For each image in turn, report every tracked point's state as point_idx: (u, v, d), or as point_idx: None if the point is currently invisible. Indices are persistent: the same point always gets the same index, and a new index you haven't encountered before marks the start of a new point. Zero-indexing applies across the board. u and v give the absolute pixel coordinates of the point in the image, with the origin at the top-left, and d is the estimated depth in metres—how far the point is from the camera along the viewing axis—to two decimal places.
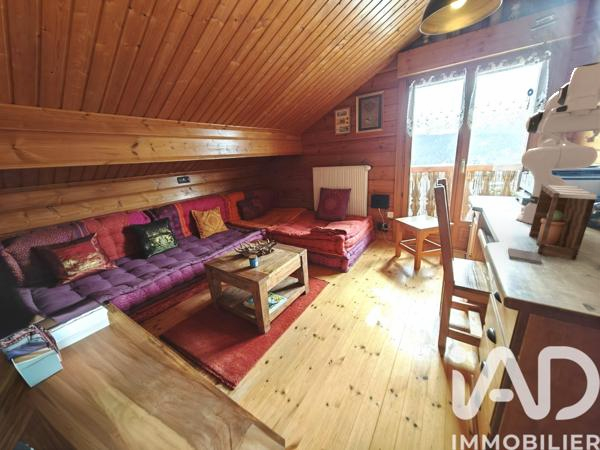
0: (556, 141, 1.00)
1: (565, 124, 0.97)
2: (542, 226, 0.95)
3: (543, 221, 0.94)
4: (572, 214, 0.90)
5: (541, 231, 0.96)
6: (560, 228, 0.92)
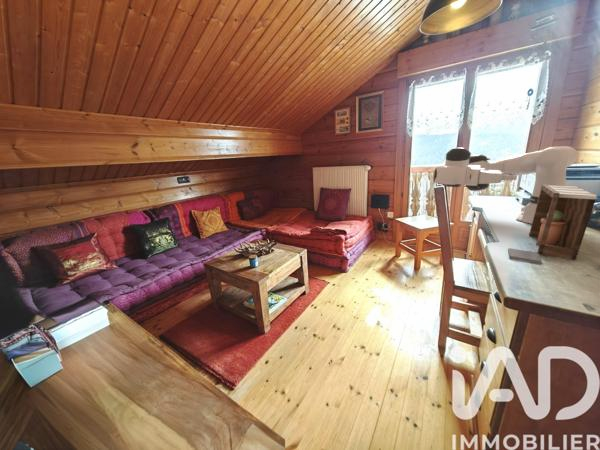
0: (513, 175, 0.94)
1: (493, 172, 0.98)
2: (542, 226, 0.95)
3: (543, 221, 0.94)
4: (572, 214, 0.90)
5: (541, 231, 0.96)
6: (560, 228, 0.92)
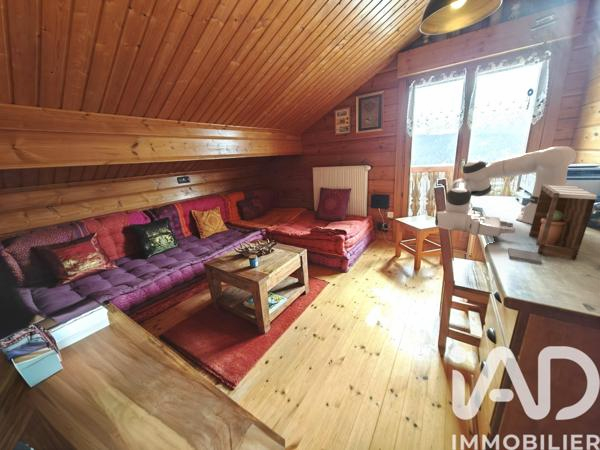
0: (511, 228, 0.98)
1: (492, 223, 1.03)
2: (542, 226, 0.95)
3: (543, 221, 0.94)
4: (572, 214, 0.90)
5: (541, 231, 0.96)
6: (560, 228, 0.92)
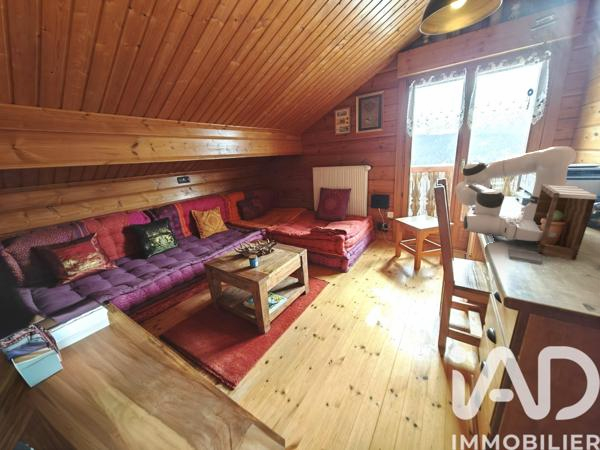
0: (552, 232, 0.92)
1: (530, 227, 0.96)
2: (542, 226, 0.95)
3: (543, 221, 0.94)
4: (572, 214, 0.90)
5: None
6: (560, 228, 0.92)
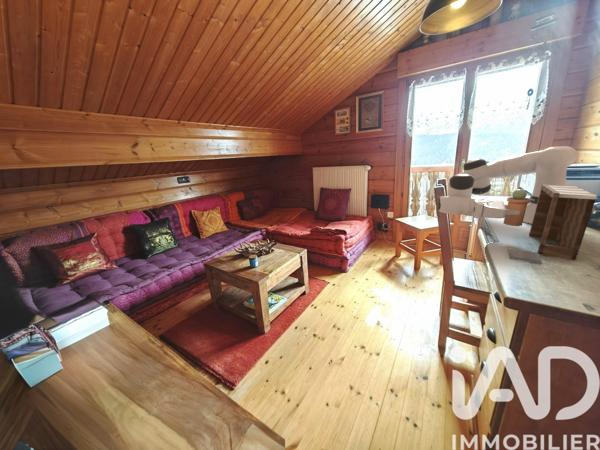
0: (516, 210, 0.96)
1: (496, 206, 1.00)
2: (508, 205, 1.00)
3: (508, 200, 0.99)
4: (572, 214, 0.90)
5: None
6: (524, 206, 0.96)
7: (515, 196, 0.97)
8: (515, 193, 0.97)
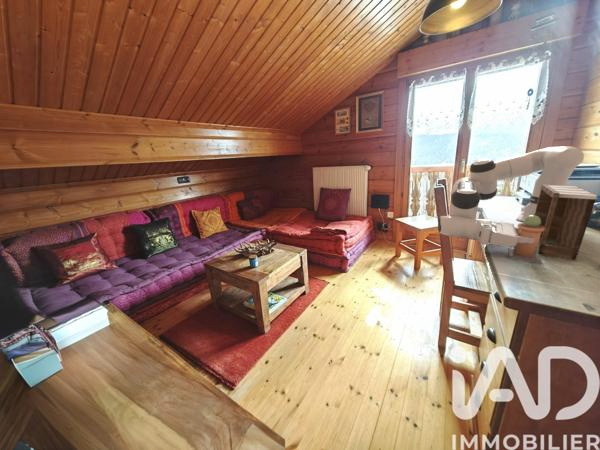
0: (530, 238, 0.82)
1: (506, 231, 0.86)
2: (519, 232, 0.86)
3: (520, 227, 0.85)
4: (572, 214, 0.90)
5: None
6: (538, 235, 0.83)
7: (527, 223, 0.84)
8: (527, 220, 0.84)
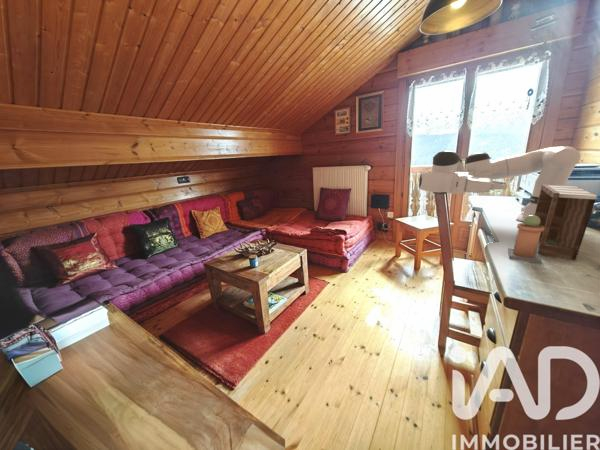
0: (503, 184, 0.84)
1: (482, 180, 0.89)
2: (518, 232, 0.87)
3: (519, 227, 0.85)
4: (572, 214, 0.90)
5: (518, 238, 0.87)
6: (537, 235, 0.83)
7: (527, 223, 0.84)
8: (527, 219, 0.84)
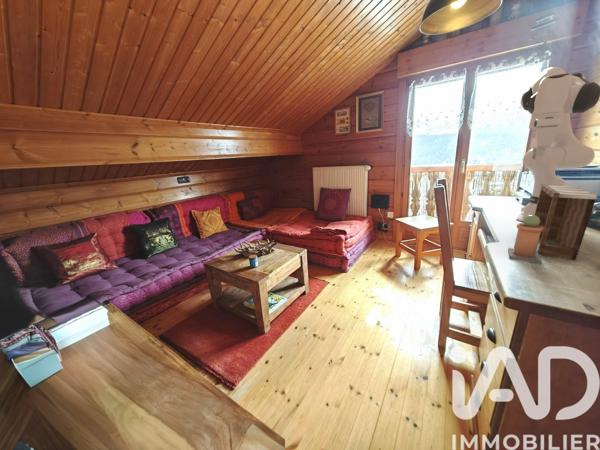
0: (542, 157, 0.89)
1: None
2: (518, 232, 0.87)
3: (519, 227, 0.85)
4: (572, 214, 0.90)
5: (517, 238, 0.87)
6: (537, 234, 0.83)
7: (527, 223, 0.84)
8: (527, 219, 0.84)
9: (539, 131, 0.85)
